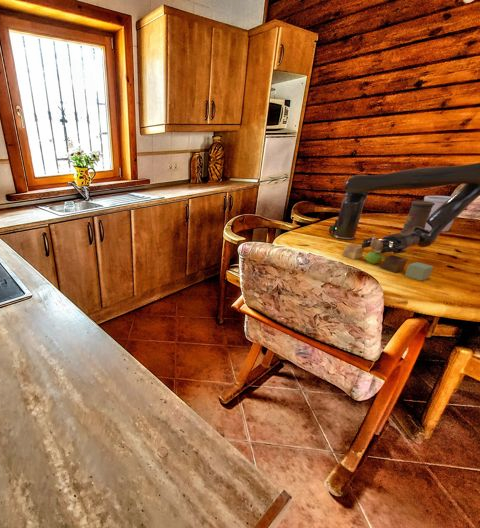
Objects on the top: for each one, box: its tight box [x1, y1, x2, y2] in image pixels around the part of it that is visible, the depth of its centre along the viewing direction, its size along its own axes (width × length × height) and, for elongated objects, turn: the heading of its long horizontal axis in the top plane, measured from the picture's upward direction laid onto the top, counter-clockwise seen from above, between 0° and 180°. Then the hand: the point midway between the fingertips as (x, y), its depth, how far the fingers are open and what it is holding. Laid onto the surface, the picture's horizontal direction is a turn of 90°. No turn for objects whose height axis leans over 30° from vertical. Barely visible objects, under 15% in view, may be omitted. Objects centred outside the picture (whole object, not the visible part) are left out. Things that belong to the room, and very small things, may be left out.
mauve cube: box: [342, 243, 365, 260], centre depth 127 cm, size 5×5×5 cm
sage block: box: [404, 261, 434, 282], centre depth 106 cm, size 5×5×5 cm
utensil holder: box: [423, 195, 455, 233], centre depth 155 cm, size 15×15×18 cm
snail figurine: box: [365, 234, 383, 265], centre depth 119 cm, size 5×6×12 cm
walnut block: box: [381, 254, 409, 274], centre depth 113 cm, size 5×5×5 cm
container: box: [399, 200, 435, 233], centre depth 147 cm, size 9×9×18 cm
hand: (372, 248), depth 117 cm, fingers open, 6 cm apart
